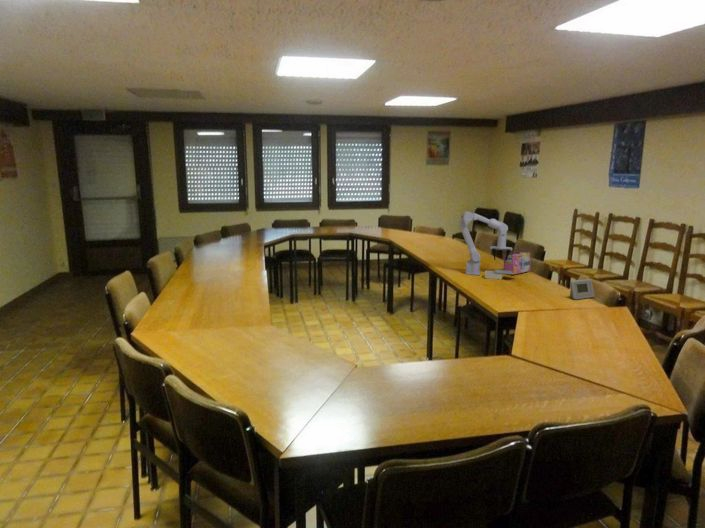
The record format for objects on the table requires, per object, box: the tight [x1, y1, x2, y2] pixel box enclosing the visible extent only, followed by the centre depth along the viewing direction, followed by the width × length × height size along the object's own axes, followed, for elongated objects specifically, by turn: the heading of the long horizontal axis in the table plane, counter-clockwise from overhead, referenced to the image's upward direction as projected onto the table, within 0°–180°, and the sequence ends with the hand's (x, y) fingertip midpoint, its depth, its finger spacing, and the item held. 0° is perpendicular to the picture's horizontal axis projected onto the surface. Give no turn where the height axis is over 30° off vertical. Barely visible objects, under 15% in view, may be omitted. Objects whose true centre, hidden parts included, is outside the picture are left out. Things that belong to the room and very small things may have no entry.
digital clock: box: [569, 278, 595, 301], centre depth 277 cm, size 16×9×11 cm, turn 102°
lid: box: [494, 267, 518, 276], centre depth 321 cm, size 14×9×4 cm, turn 74°
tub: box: [484, 270, 503, 280], centre depth 324 cm, size 11×8×4 cm
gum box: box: [503, 251, 532, 276], centre depth 340 cm, size 24×8×14 cm, turn 129°
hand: (500, 260), depth 332 cm, fingers open, 7 cm apart
